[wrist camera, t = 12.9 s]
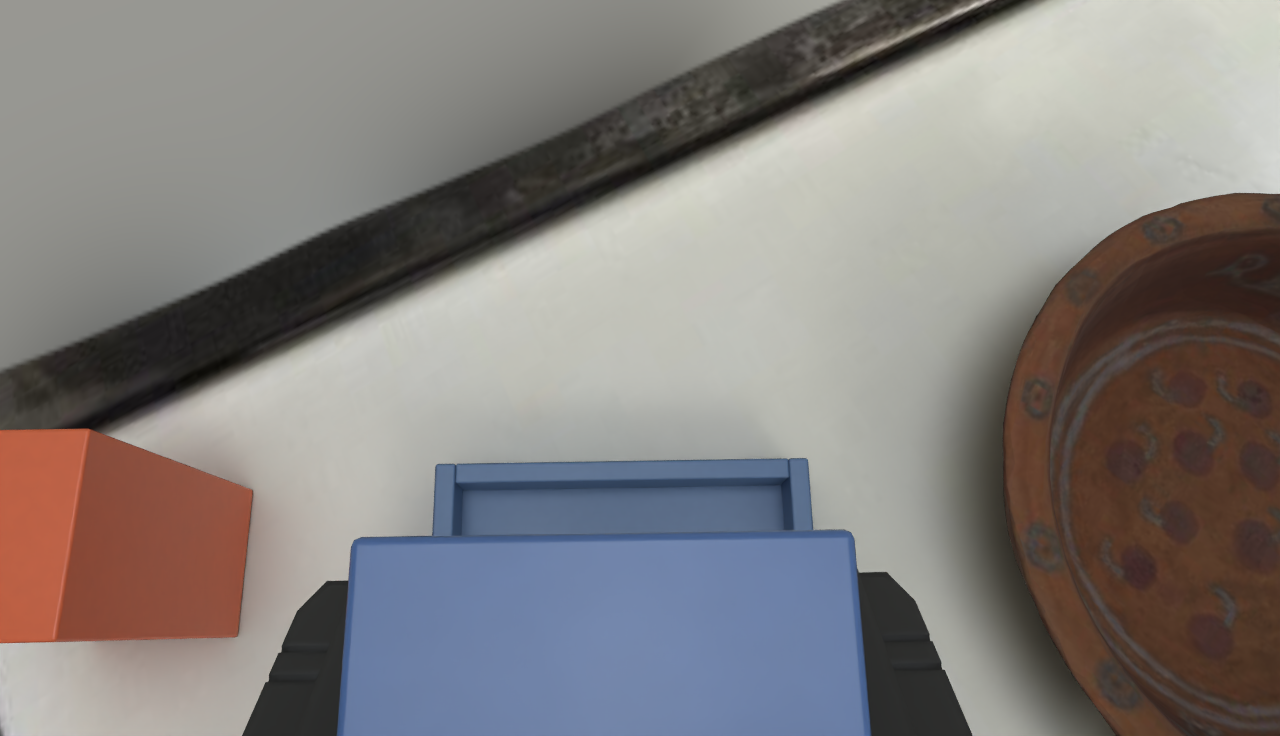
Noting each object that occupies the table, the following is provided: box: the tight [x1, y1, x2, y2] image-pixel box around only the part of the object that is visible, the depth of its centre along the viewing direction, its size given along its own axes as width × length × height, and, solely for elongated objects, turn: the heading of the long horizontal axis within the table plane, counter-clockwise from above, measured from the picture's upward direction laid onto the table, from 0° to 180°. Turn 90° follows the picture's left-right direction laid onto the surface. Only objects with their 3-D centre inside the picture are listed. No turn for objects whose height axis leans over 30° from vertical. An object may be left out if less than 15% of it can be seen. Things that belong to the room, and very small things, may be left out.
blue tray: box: [432, 458, 813, 536], centre depth 26 cm, size 11×11×2 cm
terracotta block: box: [0, 429, 253, 643], centre depth 23 cm, size 4×4×9 cm
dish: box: [1003, 193, 1280, 736], centre depth 26 cm, size 18×22×5 cm
